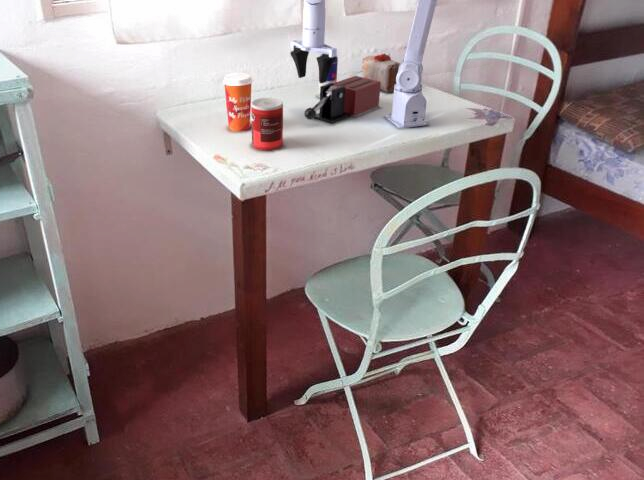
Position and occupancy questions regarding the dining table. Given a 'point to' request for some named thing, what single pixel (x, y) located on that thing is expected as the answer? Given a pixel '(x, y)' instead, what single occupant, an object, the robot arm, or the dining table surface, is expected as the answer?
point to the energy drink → (330, 75)
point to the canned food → (267, 123)
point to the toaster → (360, 95)
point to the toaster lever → (319, 104)
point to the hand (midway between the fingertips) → (312, 79)
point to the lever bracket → (332, 105)
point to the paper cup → (238, 100)
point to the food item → (381, 71)
